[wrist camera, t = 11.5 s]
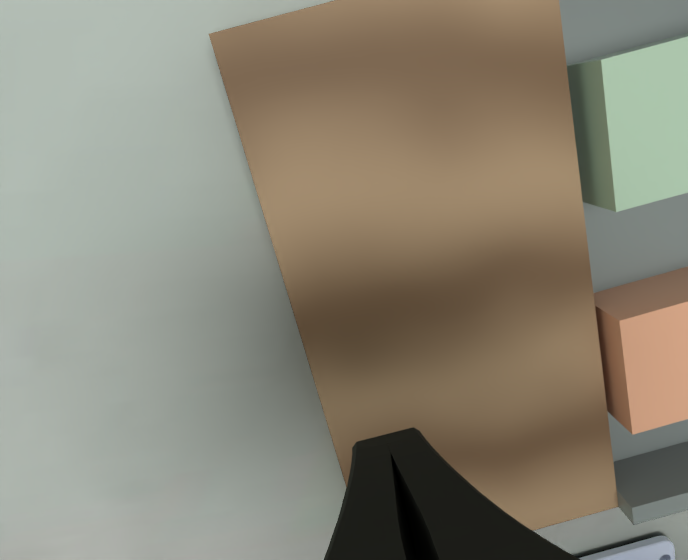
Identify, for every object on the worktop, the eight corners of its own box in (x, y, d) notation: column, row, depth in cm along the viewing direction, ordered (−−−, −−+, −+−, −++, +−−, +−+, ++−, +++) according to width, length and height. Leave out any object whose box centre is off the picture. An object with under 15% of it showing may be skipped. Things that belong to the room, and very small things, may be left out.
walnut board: (591, 474, 23) (618, 506, 21) (366, 536, 23) (373, 574, 21) (523, -39, 17) (551, -58, 15) (218, 43, 17) (208, 34, 15)
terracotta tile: (703, 368, 22) (754, 400, 19) (595, 399, 22) (632, 435, 19) (696, 263, 20) (750, 283, 18) (581, 296, 20) (619, 320, 18)
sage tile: (698, 166, 19) (755, 174, 17) (576, 199, 19) (616, 212, 17) (691, 31, 18) (753, 18, 15) (559, 67, 18) (601, 59, 15)
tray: (757, 428, 23) (821, 472, 21) (591, 474, 23) (633, 524, 20) (747, -98, 17) (836, -140, 14) (523, -39, 17) (569, -69, 14)
